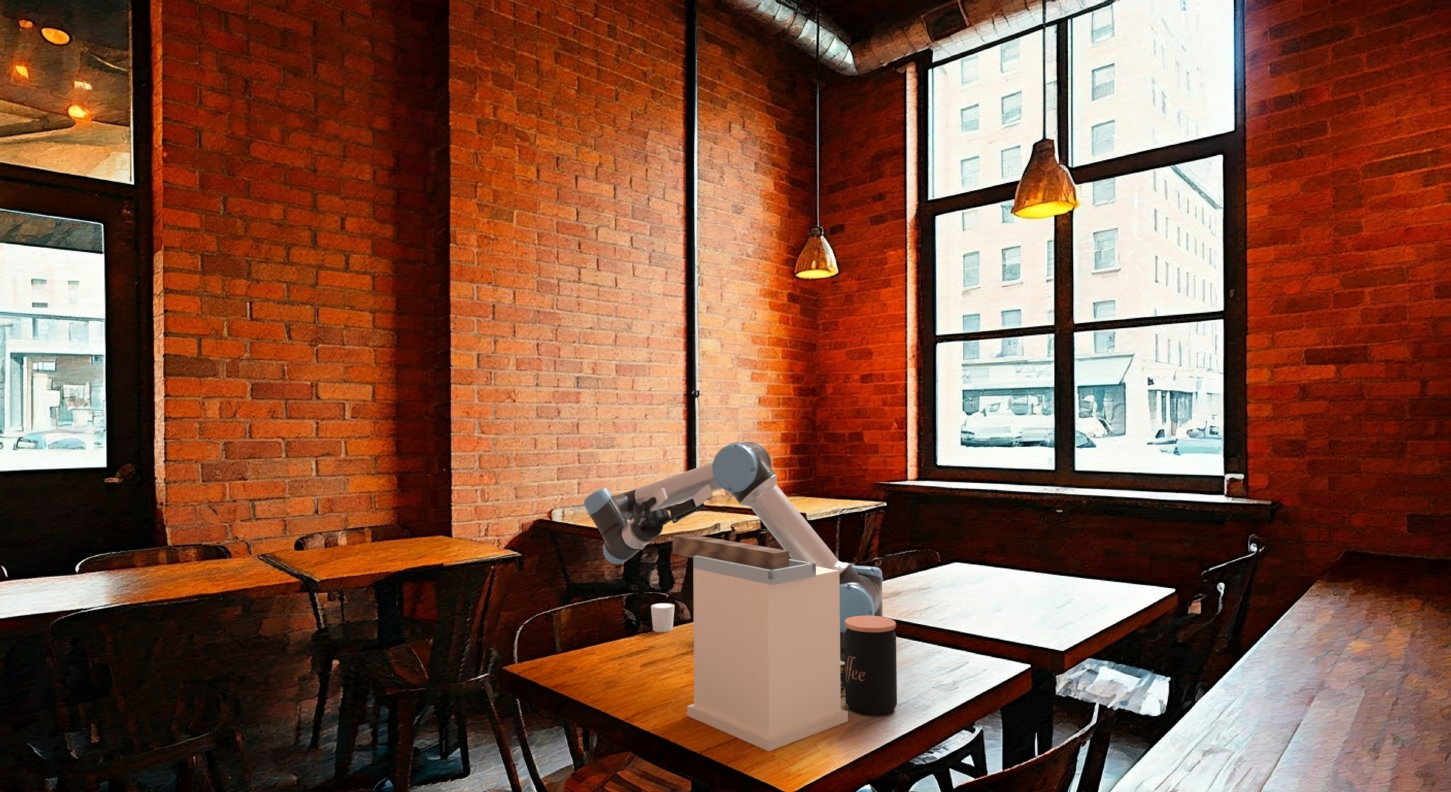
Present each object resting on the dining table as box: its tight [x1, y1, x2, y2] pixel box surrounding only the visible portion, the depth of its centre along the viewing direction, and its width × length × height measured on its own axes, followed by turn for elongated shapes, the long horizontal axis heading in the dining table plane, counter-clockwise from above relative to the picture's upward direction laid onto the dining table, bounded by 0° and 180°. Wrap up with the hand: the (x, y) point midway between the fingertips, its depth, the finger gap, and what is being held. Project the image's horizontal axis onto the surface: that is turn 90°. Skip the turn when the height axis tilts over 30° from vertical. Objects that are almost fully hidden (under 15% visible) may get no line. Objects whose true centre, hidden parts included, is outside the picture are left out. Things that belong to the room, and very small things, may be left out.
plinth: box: [686, 566, 849, 752], centre depth 164 cm, size 24×22×30 cm
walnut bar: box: [672, 533, 790, 570], centre depth 167 cm, size 32×4×4 cm, turn 41°
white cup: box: [650, 602, 675, 633], centre depth 233 cm, size 7×7×7 cm
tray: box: [692, 556, 816, 585], centre depth 161 cm, size 23×12×2 cm, turn 41°
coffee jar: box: [844, 616, 898, 717], centre depth 169 cm, size 11×11×18 cm
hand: (688, 491), depth 191 cm, fingers open, 13 cm apart
